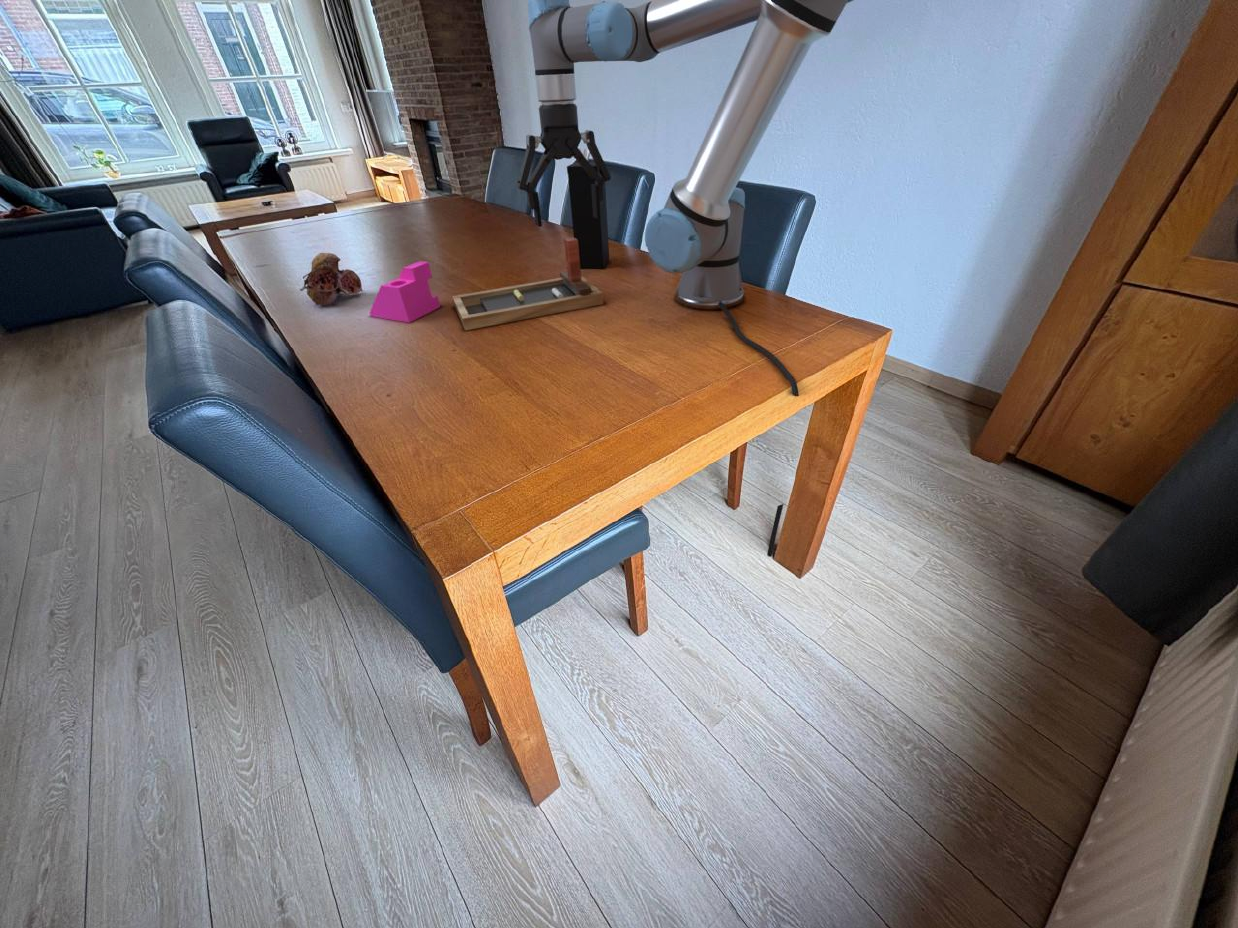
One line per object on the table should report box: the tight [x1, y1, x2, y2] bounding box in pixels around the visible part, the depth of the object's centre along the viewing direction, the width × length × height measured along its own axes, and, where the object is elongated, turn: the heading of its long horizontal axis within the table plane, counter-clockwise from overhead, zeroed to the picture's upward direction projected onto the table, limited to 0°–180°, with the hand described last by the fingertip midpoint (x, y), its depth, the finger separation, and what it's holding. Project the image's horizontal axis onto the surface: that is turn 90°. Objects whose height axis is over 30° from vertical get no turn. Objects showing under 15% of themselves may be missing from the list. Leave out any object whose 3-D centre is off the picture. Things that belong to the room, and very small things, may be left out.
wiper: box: [559, 236, 591, 295], centre depth 115 cm, size 15×3×11 cm, turn 23°
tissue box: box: [566, 148, 610, 269], centre depth 131 cm, size 8×8×28 cm
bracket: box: [369, 261, 441, 324], centre depth 113 cm, size 12×10×10 cm
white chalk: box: [552, 288, 563, 299], centre depth 115 cm, size 5×1×1 cm, turn 23°
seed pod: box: [299, 252, 364, 306], centre depth 122 cm, size 13×16×15 cm
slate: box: [451, 275, 604, 331], centre depth 115 cm, size 16×32×3 cm, turn 113°
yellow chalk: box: [514, 290, 524, 301], centre depth 115 cm, size 5×1×1 cm
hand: (568, 221), depth 109 cm, fingers open, 13 cm apart
